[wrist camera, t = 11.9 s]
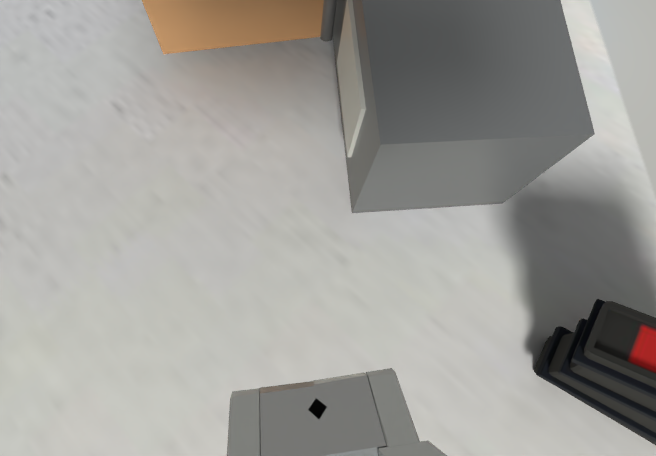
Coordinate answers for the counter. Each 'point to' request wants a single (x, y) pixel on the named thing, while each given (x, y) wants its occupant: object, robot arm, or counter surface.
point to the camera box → (454, 99)
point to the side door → (237, 22)
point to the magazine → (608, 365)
